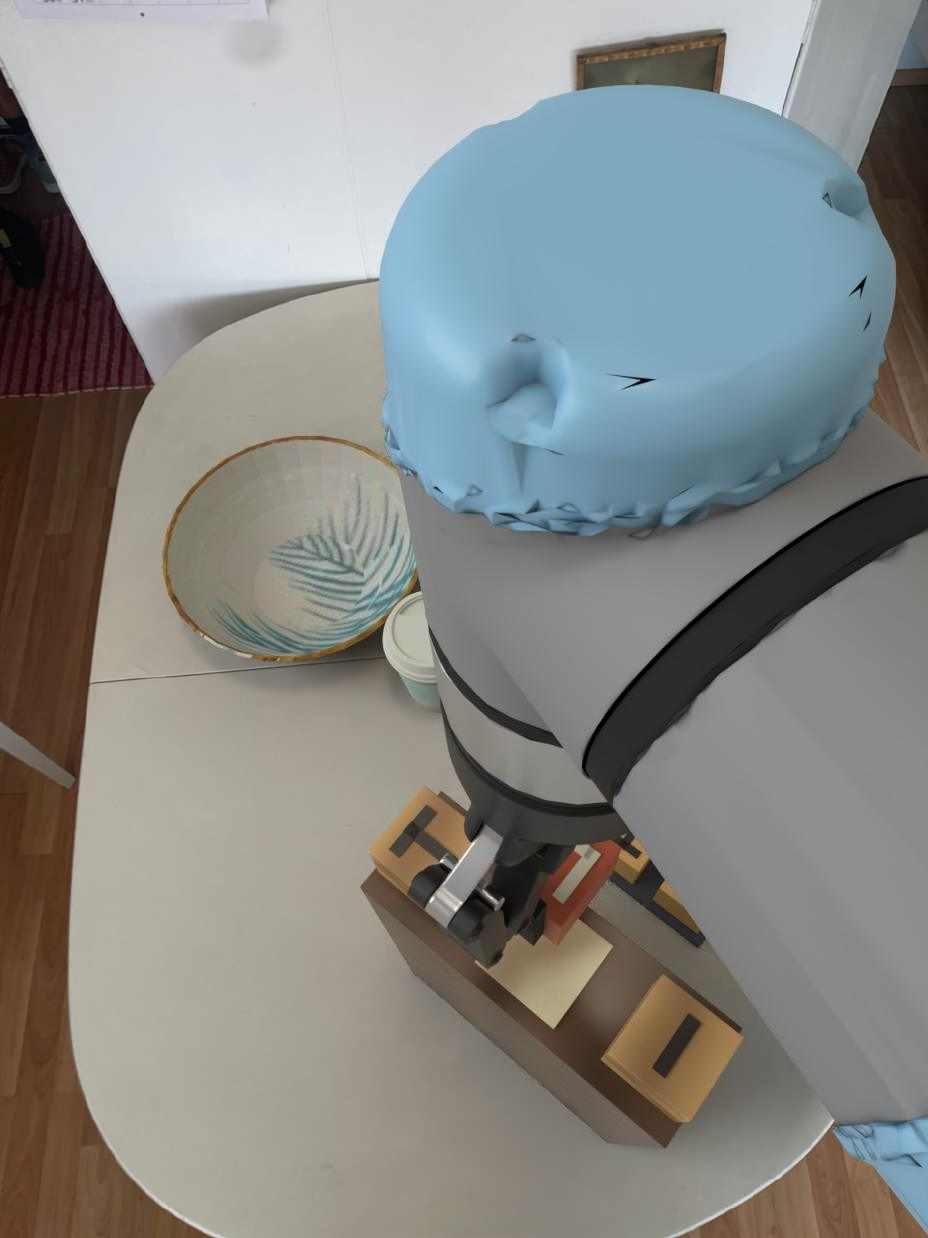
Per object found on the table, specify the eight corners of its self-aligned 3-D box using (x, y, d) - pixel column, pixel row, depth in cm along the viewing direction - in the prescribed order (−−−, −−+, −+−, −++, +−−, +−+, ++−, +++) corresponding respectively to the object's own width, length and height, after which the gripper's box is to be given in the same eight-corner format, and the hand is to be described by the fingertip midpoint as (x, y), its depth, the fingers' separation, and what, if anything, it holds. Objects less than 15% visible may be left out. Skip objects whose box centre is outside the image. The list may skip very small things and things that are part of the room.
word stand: (659, 1066, 78) (764, 1018, 46) (607, 1143, 76) (679, 1151, 43) (464, 905, 85) (435, 763, 52) (411, 971, 82) (347, 866, 50)
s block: (613, 872, 48) (622, 847, 44) (557, 946, 46) (561, 928, 42) (540, 815, 49) (542, 786, 45) (483, 885, 48) (480, 861, 44)
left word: (737, 891, 84) (750, 877, 80) (698, 948, 82) (709, 937, 78) (612, 799, 88) (618, 781, 84) (572, 851, 86) (576, 835, 82)
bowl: (401, 457, 107) (393, 409, 100) (460, 658, 95) (456, 620, 88) (172, 513, 105) (147, 468, 98) (204, 725, 93) (179, 692, 86)
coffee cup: (498, 663, 95) (496, 604, 84) (460, 740, 92) (454, 688, 81) (418, 632, 97) (407, 570, 86) (379, 705, 94) (362, 650, 83)
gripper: (646, 412, 31) (594, 703, 52) (251, 836, 25) (370, 974, 46) (859, 536, 29) (716, 790, 49) (476, 1038, 23) (495, 1088, 43)
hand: (549, 878), depth 47 cm, fingers closed on s block, 4 cm apart
